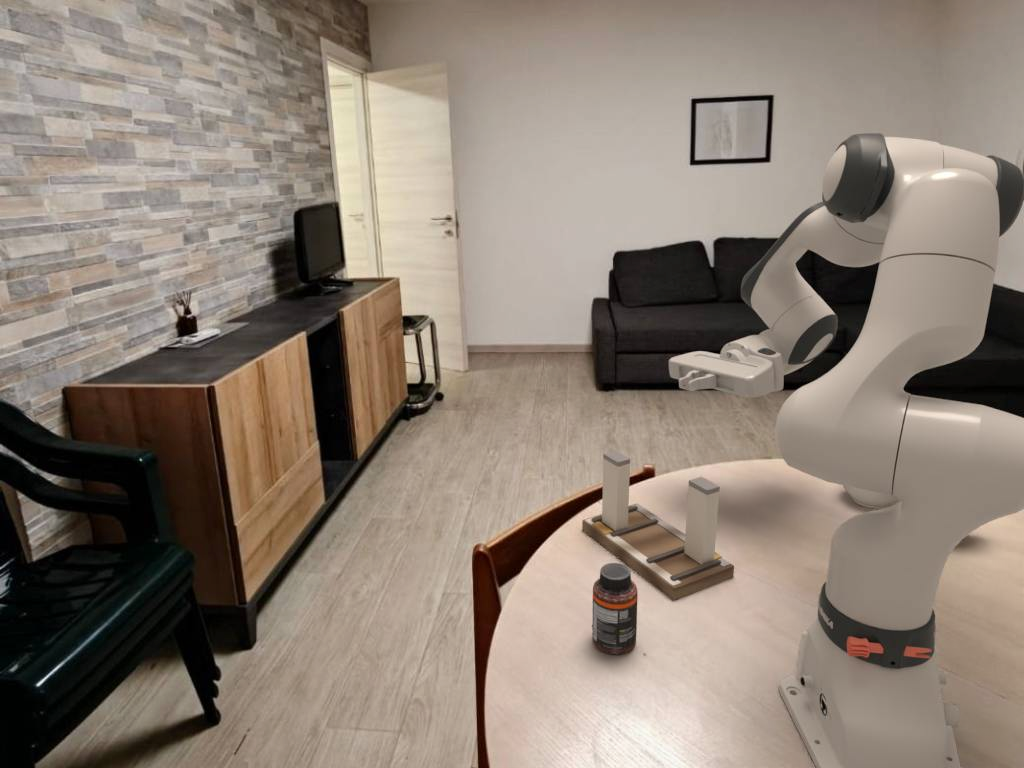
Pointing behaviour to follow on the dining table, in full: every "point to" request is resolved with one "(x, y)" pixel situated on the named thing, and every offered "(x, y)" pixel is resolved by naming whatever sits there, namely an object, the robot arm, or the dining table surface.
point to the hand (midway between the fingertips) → (684, 385)
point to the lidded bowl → (870, 498)
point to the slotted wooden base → (658, 553)
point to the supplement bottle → (614, 610)
